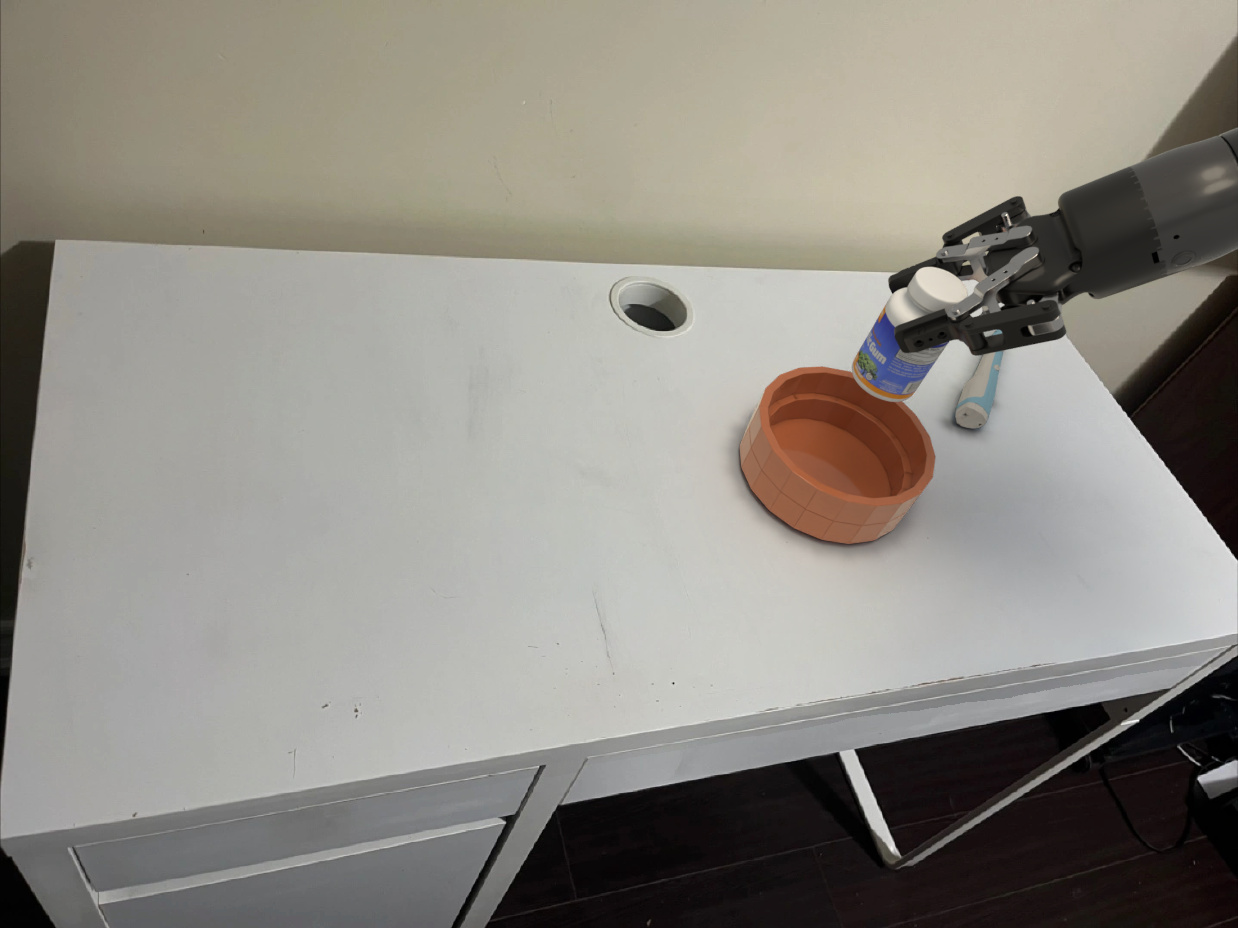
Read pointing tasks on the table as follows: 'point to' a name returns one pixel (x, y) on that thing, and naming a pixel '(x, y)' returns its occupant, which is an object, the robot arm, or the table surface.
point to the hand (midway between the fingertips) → (895, 314)
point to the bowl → (835, 456)
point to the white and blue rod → (979, 392)
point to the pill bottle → (880, 354)
